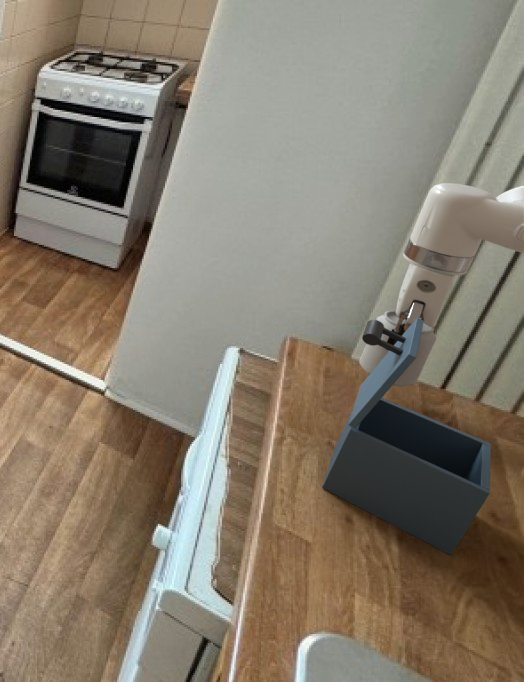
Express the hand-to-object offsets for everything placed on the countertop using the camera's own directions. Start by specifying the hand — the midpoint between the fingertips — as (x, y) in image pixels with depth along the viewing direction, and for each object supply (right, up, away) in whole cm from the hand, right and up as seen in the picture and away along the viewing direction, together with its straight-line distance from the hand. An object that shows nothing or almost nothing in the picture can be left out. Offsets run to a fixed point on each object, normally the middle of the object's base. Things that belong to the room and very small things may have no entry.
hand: (399, 341), depth 106 cm
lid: (-22, +2, -20) cm, 30 cm away
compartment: (-19, -18, -16) cm, 31 cm away
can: (0, -7, +3) cm, 8 cm away
